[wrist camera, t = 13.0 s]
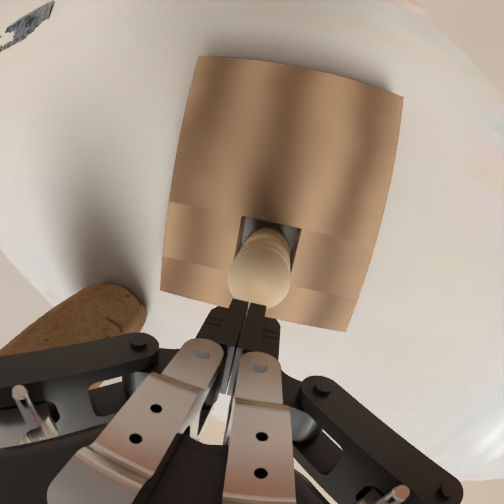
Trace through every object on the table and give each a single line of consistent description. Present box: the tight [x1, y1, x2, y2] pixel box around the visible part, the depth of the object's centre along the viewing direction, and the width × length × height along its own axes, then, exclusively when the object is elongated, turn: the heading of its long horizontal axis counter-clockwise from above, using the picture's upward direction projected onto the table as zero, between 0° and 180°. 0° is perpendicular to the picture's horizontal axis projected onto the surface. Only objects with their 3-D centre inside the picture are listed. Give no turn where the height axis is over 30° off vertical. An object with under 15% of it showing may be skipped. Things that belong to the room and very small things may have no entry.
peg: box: [227, 227, 291, 309], centre depth 21 cm, size 4×4×10 cm
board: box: [160, 56, 404, 332], centre depth 23 cm, size 18×22×3 cm
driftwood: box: [0, 1, 54, 52], centre depth 21 cm, size 21×7×2 cm, turn 79°
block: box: [0, 282, 147, 390], centre depth 21 cm, size 11×8×20 cm
